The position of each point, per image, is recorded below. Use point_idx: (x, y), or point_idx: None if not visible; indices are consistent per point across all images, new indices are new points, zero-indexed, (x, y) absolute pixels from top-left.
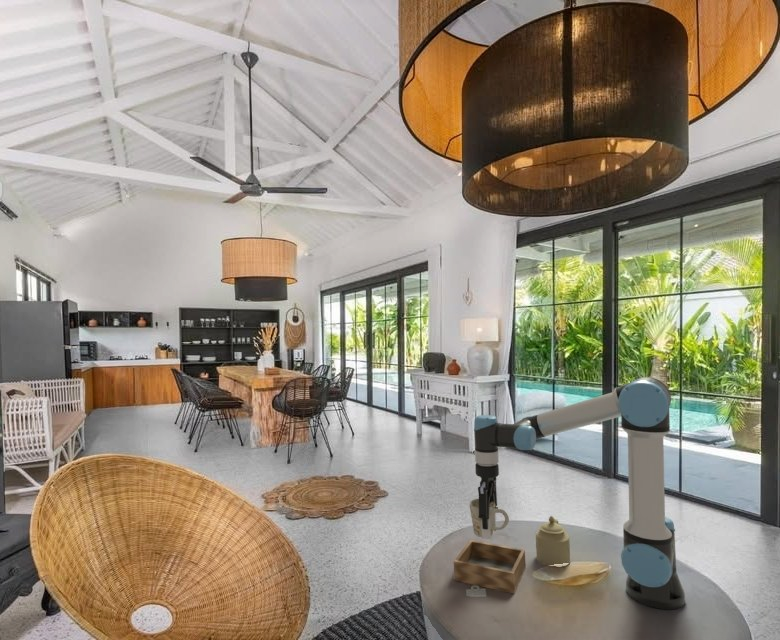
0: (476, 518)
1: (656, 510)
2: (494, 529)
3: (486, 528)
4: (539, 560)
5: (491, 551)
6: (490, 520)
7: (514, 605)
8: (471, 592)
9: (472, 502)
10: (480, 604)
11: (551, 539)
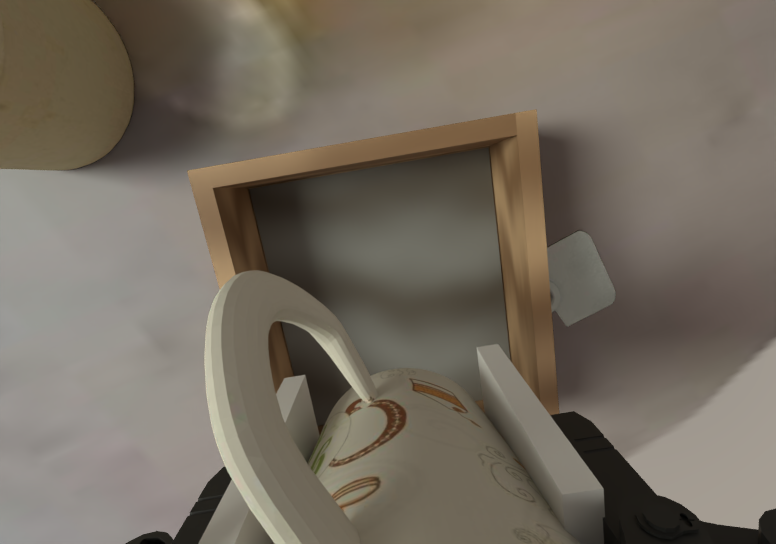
0: None
1: None
2: (303, 392)
3: (588, 423)
4: (118, 133)
5: (273, 357)
6: (492, 465)
7: (591, 89)
8: (581, 296)
9: None
10: (651, 224)
11: None
